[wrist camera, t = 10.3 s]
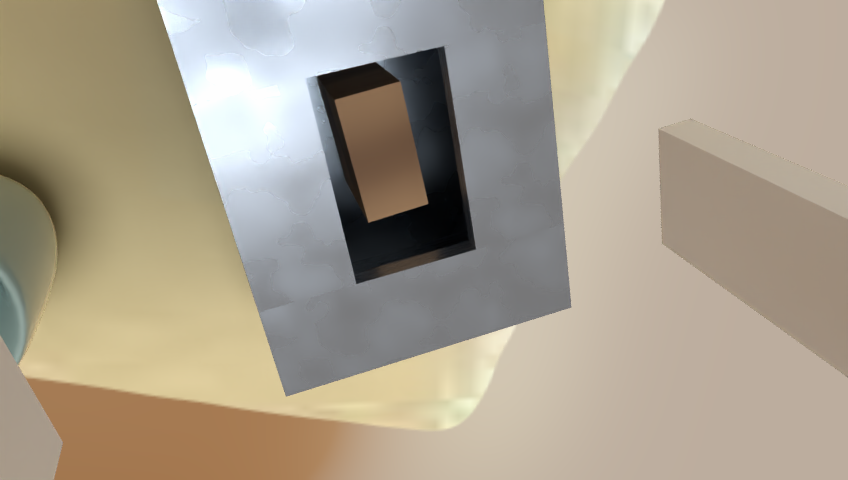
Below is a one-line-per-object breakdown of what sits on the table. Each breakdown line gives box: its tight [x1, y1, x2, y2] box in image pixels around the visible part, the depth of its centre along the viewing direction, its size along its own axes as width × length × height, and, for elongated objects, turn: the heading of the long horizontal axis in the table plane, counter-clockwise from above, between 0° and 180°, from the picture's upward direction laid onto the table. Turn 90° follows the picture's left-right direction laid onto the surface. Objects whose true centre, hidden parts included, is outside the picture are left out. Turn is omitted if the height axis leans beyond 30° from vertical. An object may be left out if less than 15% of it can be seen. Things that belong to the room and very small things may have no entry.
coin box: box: [157, 0, 571, 396], centre depth 33 cm, size 18×14×10 cm
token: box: [316, 62, 428, 223], centre depth 35 cm, size 6×3×6 cm, turn 13°
